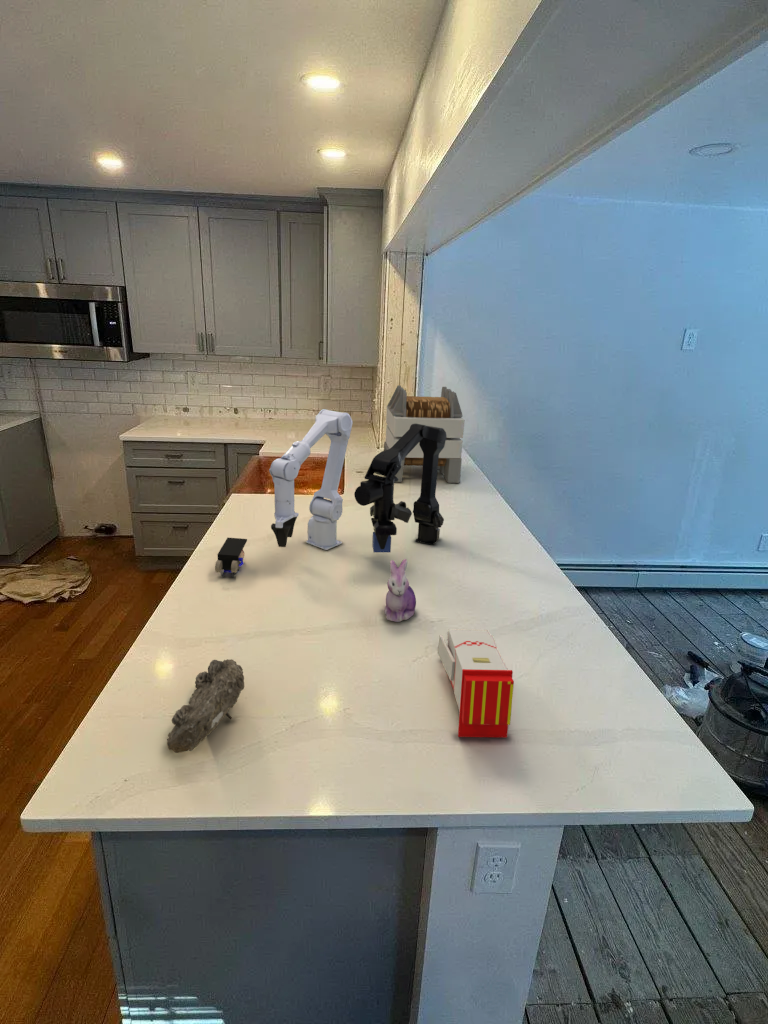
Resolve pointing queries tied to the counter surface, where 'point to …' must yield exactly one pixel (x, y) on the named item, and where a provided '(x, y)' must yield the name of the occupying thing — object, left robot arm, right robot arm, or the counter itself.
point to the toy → (478, 682)
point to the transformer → (428, 413)
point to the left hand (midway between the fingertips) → (285, 541)
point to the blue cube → (377, 548)
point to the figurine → (399, 594)
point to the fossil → (206, 705)
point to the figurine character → (230, 556)
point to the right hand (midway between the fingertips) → (381, 545)
